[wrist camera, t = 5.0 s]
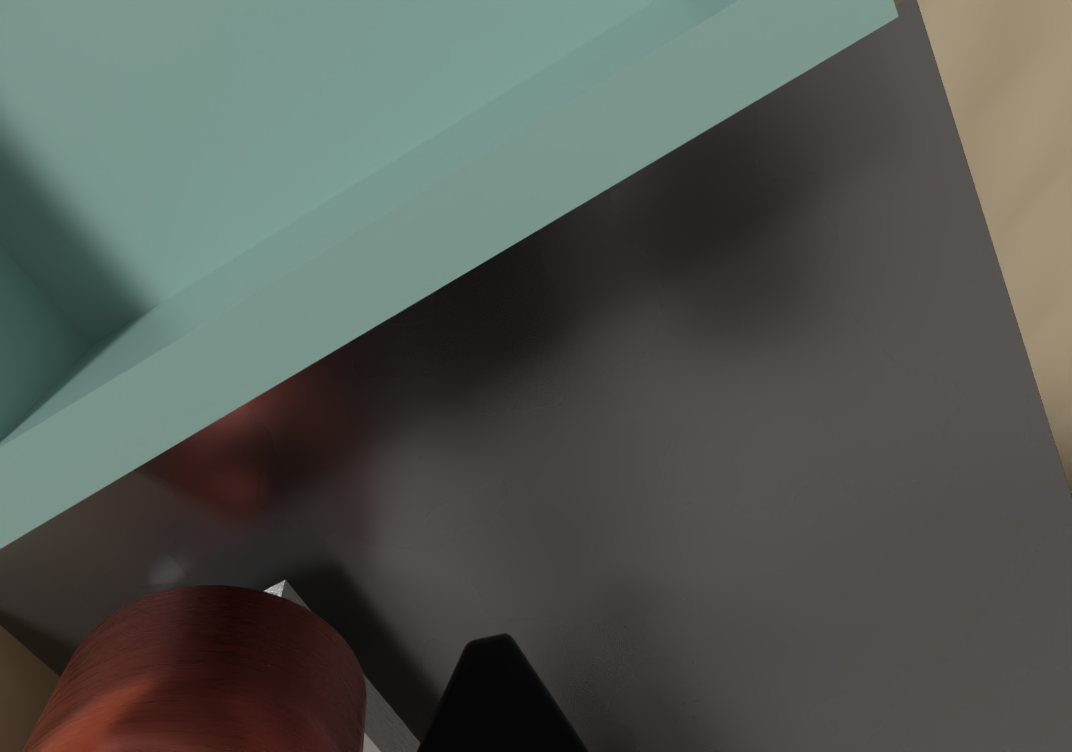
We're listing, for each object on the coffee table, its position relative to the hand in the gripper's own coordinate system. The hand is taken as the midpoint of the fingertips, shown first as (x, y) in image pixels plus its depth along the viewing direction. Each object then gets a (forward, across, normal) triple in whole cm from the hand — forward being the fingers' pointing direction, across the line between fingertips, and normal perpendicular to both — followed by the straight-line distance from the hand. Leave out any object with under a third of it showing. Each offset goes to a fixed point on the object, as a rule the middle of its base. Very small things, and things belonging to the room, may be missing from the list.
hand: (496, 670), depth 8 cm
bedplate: (+3, 0, +5) cm, 6 cm away
